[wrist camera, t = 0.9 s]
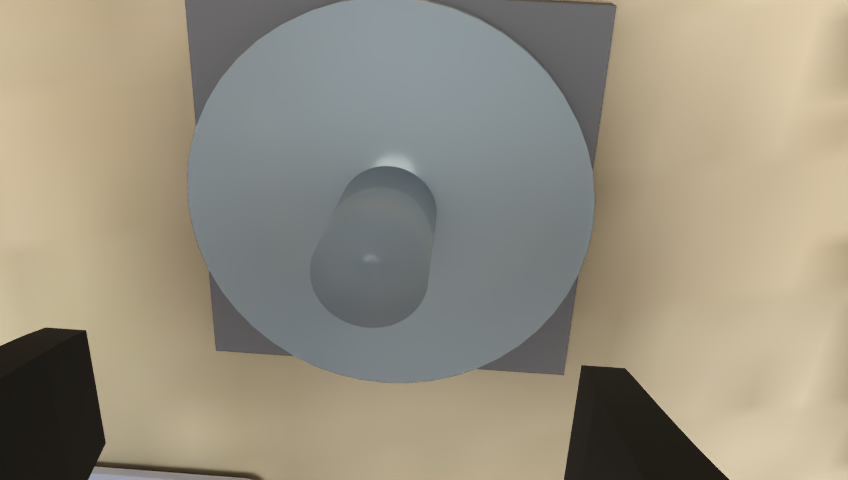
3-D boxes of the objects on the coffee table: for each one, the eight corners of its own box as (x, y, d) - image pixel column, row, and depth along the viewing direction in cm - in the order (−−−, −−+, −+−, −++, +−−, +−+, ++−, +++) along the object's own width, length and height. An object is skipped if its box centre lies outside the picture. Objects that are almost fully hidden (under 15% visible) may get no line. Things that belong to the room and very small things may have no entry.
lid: (563, 374, 20) (586, 488, 16) (216, 349, 21) (152, 454, 17) (616, 6, 16) (664, 32, 12) (183, -16, 17) (89, 2, 13)
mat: (561, 363, 21) (563, 375, 20) (222, 339, 21) (216, 350, 21) (611, 3, 17) (616, 5, 16) (192, -18, 17) (183, -16, 17)
